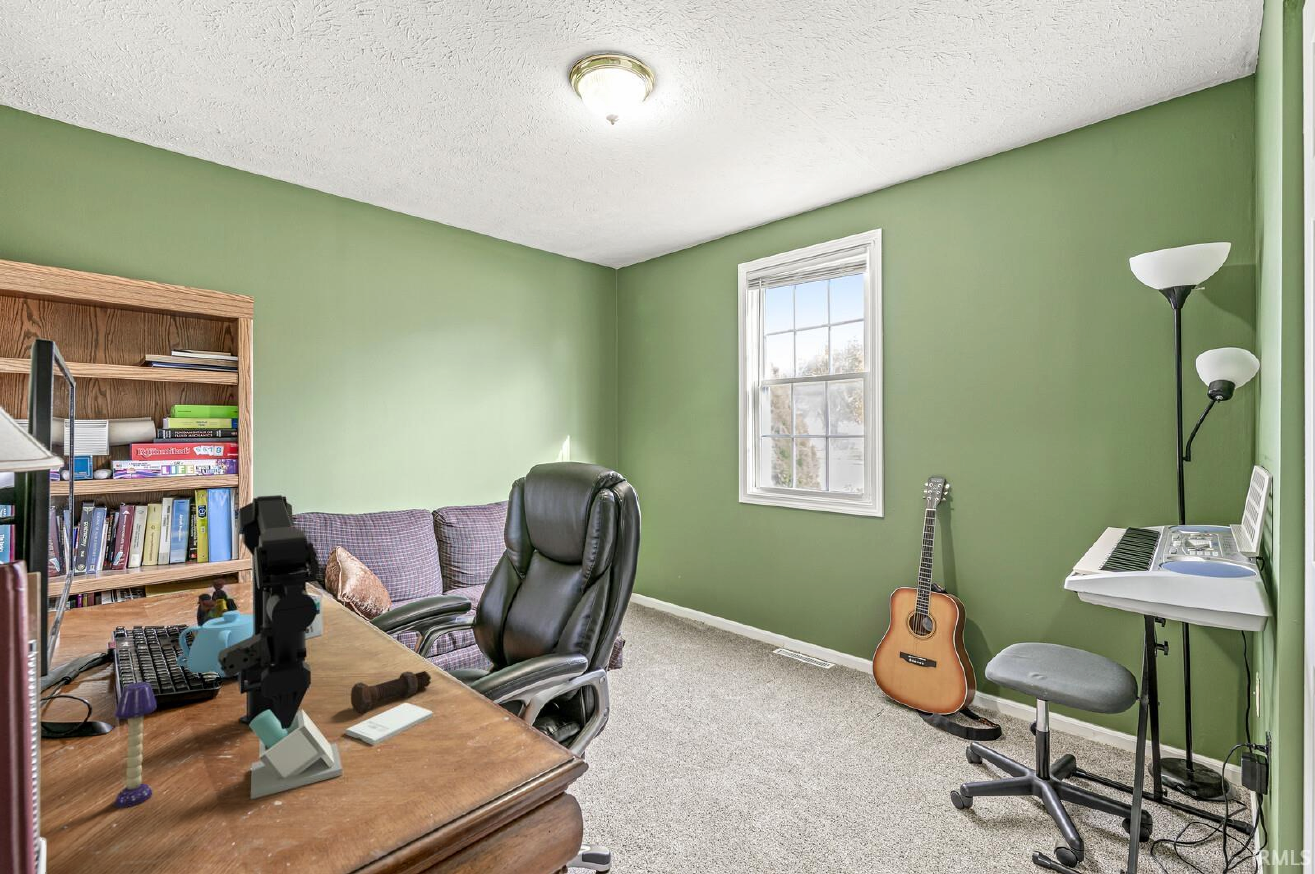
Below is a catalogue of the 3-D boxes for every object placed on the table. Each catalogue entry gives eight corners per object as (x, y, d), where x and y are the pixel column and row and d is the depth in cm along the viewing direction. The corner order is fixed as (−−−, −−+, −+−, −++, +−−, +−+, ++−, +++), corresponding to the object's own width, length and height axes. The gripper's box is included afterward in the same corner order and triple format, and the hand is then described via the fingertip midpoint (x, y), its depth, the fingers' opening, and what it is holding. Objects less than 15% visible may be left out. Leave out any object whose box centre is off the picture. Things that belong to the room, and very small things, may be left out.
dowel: (279, 769, 97) (244, 727, 95) (295, 752, 100) (262, 710, 97) (292, 767, 96) (257, 725, 93) (308, 750, 98) (274, 708, 96)
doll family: (183, 628, 171) (182, 580, 171) (221, 621, 178) (221, 574, 178) (205, 647, 156) (204, 594, 156) (246, 638, 163) (246, 587, 163)
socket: (336, 748, 105) (336, 698, 105) (342, 774, 97) (341, 720, 97) (252, 769, 99) (251, 716, 99) (250, 799, 91) (250, 741, 91)
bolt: (429, 696, 131) (357, 720, 119) (418, 679, 133) (347, 700, 122) (437, 676, 129) (365, 697, 117) (426, 659, 132) (355, 678, 120)
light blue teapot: (210, 692, 129) (210, 627, 129) (170, 678, 136) (170, 616, 136) (288, 666, 143) (288, 607, 143) (248, 654, 151) (248, 599, 151)
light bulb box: (323, 635, 165) (323, 594, 165) (297, 642, 160) (297, 600, 160) (301, 628, 171) (301, 589, 171) (276, 635, 165) (275, 594, 165)
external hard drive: (433, 719, 117) (374, 748, 106) (404, 710, 121) (345, 736, 111) (433, 711, 117) (374, 738, 106) (404, 701, 121) (345, 727, 111)
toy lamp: (132, 789, 93) (131, 679, 93) (165, 787, 94) (164, 678, 94) (106, 808, 88) (105, 692, 88) (141, 806, 89) (140, 691, 89)
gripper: (225, 610, 101) (225, 706, 101) (217, 643, 85) (218, 756, 85) (304, 600, 107) (304, 691, 107) (310, 629, 91) (311, 735, 91)
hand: (285, 716), depth 97 cm, fingers open, 9 cm apart
